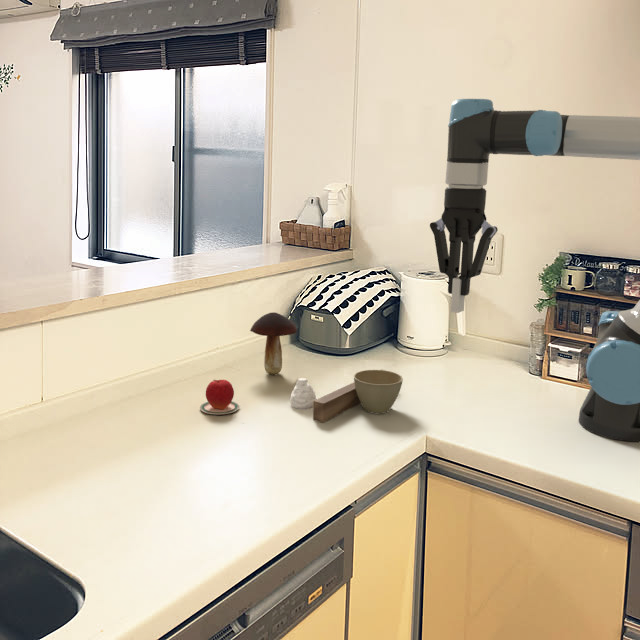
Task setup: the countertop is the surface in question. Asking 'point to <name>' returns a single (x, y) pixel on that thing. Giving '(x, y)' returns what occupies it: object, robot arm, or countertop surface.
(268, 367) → the decorative mushroom
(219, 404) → the apple
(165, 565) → the countertop surface
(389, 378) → the flower pot
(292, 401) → the garlic bulb
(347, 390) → the board
